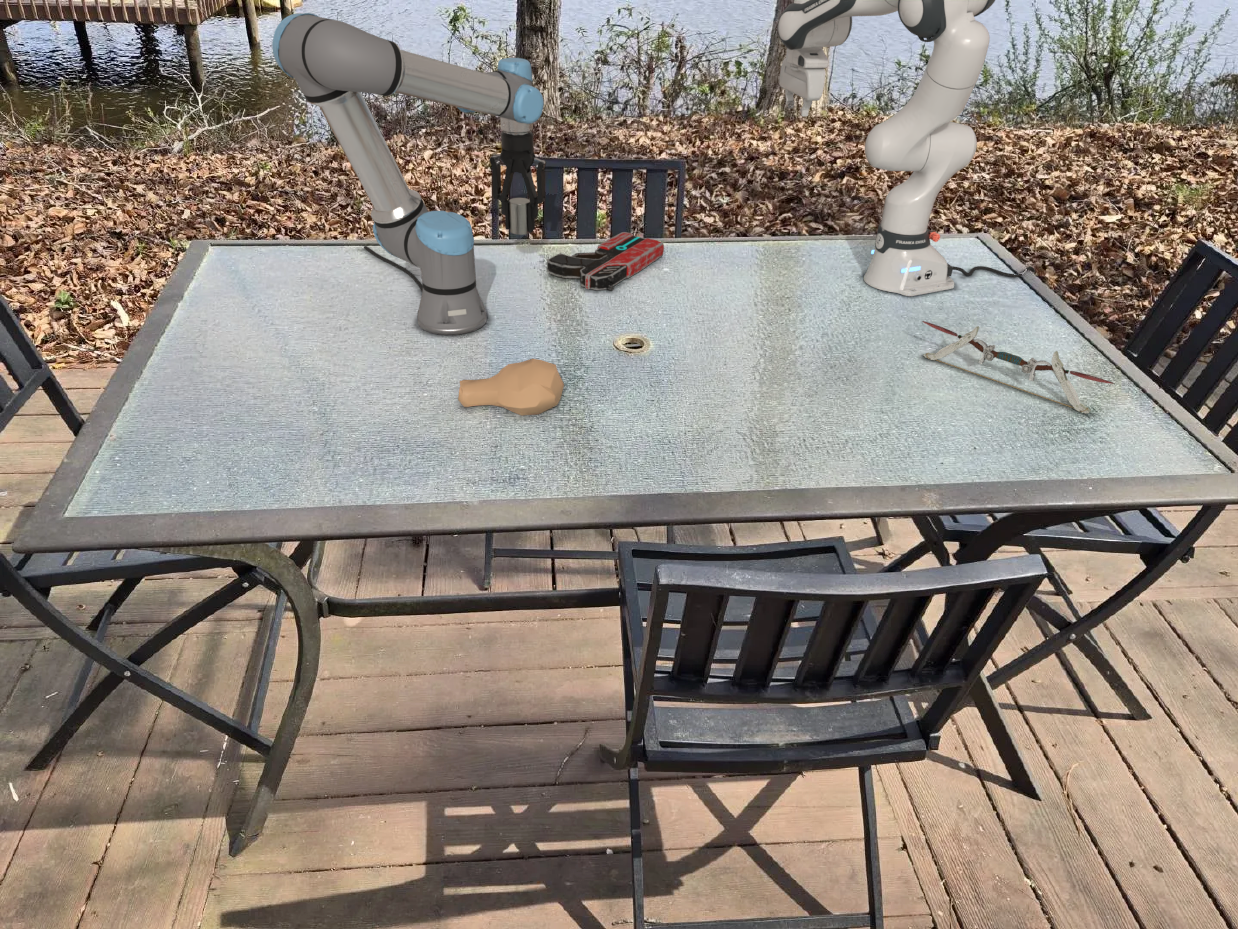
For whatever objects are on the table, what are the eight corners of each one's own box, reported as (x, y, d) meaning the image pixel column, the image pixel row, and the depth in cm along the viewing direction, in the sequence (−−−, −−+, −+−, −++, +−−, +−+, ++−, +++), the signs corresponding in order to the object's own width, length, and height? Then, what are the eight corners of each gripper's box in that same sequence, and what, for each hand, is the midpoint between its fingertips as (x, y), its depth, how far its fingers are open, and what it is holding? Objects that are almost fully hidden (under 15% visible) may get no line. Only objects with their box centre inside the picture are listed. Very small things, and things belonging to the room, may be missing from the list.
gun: (540, 260, 217) (606, 279, 209) (606, 224, 239) (668, 240, 231) (540, 277, 220) (606, 296, 212) (605, 240, 242) (667, 256, 234)
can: (518, 236, 215) (517, 205, 210) (506, 230, 218) (504, 199, 214) (535, 232, 217) (534, 201, 213) (523, 226, 221) (522, 196, 216)
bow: (1102, 416, 168) (1120, 369, 163) (1099, 419, 167) (1116, 372, 162) (916, 351, 190) (927, 308, 184) (912, 354, 189) (923, 311, 183)
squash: (565, 421, 162) (558, 383, 156) (459, 429, 164) (448, 392, 158) (568, 385, 170) (561, 347, 164) (467, 393, 172) (456, 356, 165)
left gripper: (559, 131, 206) (560, 228, 218) (486, 124, 209) (491, 220, 222) (549, 138, 200) (550, 237, 212) (474, 131, 203) (480, 229, 216)
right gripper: (777, 48, 233) (770, 103, 241) (808, 62, 217) (800, 120, 225) (799, 48, 235) (792, 103, 243) (832, 61, 218) (823, 120, 226)
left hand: (520, 228), depth 217 cm, fingers closed on can, 5 cm apart
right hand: (796, 111), depth 233 cm, fingers open, 8 cm apart
